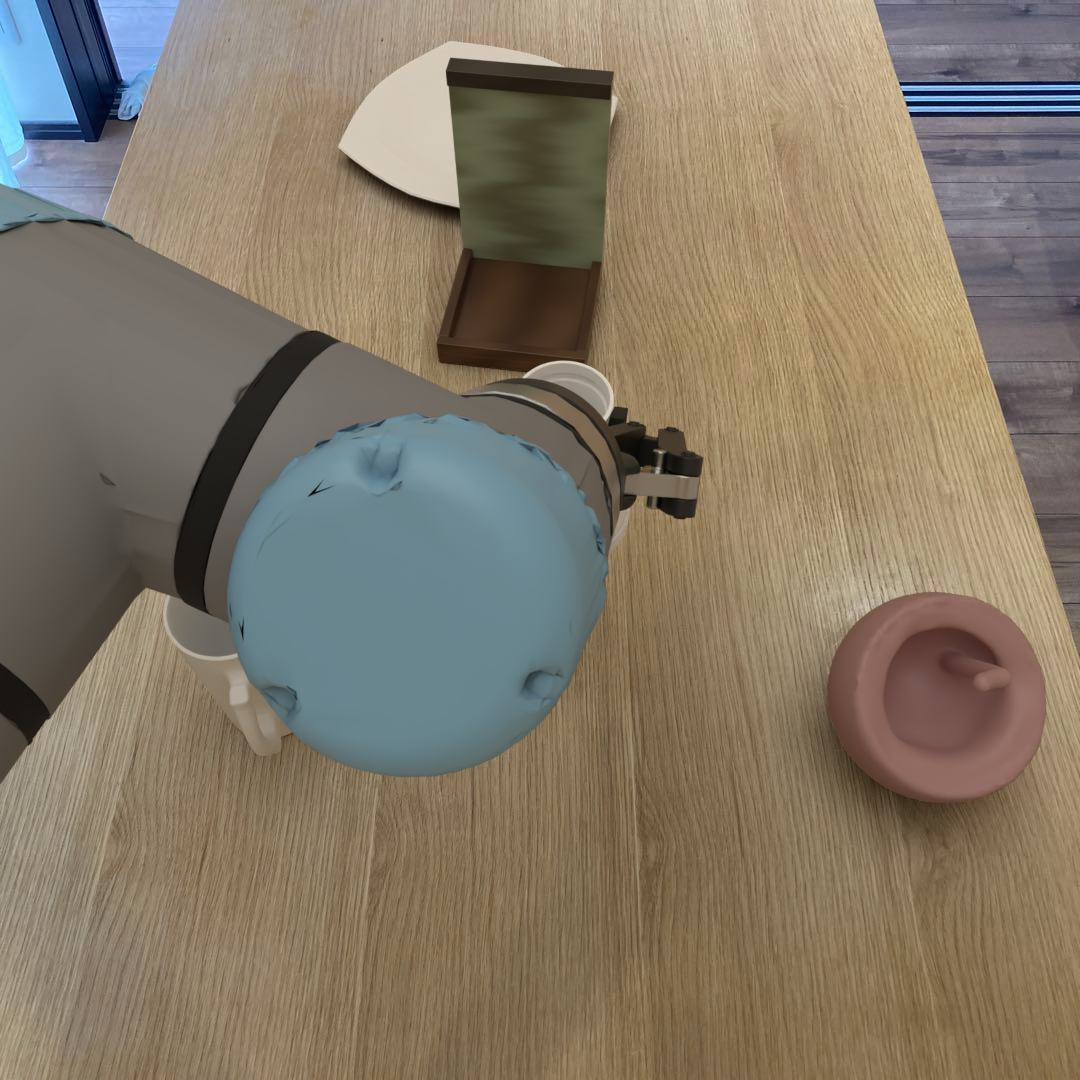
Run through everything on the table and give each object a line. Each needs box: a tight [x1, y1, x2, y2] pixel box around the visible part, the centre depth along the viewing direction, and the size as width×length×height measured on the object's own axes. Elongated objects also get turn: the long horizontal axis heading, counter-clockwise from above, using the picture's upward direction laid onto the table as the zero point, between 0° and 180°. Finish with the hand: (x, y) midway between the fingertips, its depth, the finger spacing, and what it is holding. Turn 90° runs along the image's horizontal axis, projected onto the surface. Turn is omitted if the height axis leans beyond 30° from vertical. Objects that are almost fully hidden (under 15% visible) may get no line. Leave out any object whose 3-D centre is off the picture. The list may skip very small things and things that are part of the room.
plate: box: [337, 40, 619, 210], centre depth 96 cm, size 23×23×2 cm
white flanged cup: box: [522, 361, 631, 555], centre depth 54 cm, size 8×8×10 cm
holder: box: [436, 58, 615, 373], centre depth 77 cm, size 12×12×18 cm
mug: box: [162, 595, 293, 757], centre depth 61 cm, size 10×7×12 cm, turn 13°
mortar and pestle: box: [826, 591, 1047, 804], centre depth 60 cm, size 12×12×12 cm
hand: (570, 425), depth 58 cm, fingers closed on white flanged cup, 5 cm apart
